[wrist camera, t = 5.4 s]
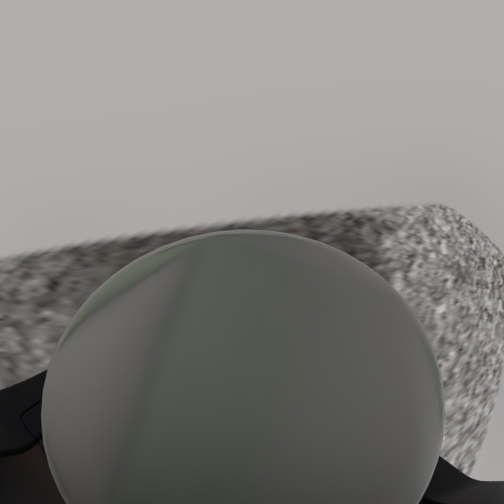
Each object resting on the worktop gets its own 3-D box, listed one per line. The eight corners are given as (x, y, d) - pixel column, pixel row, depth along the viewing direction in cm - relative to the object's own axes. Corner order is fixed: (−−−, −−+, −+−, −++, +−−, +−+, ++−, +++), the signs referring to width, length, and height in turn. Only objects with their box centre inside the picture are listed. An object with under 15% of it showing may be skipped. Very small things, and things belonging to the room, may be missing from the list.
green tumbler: (195, 460, 12) (192, 627, 1) (144, 368, 13) (-8, 324, 3) (288, 413, 14) (478, 452, 3) (238, 324, 15) (330, 181, 4)
